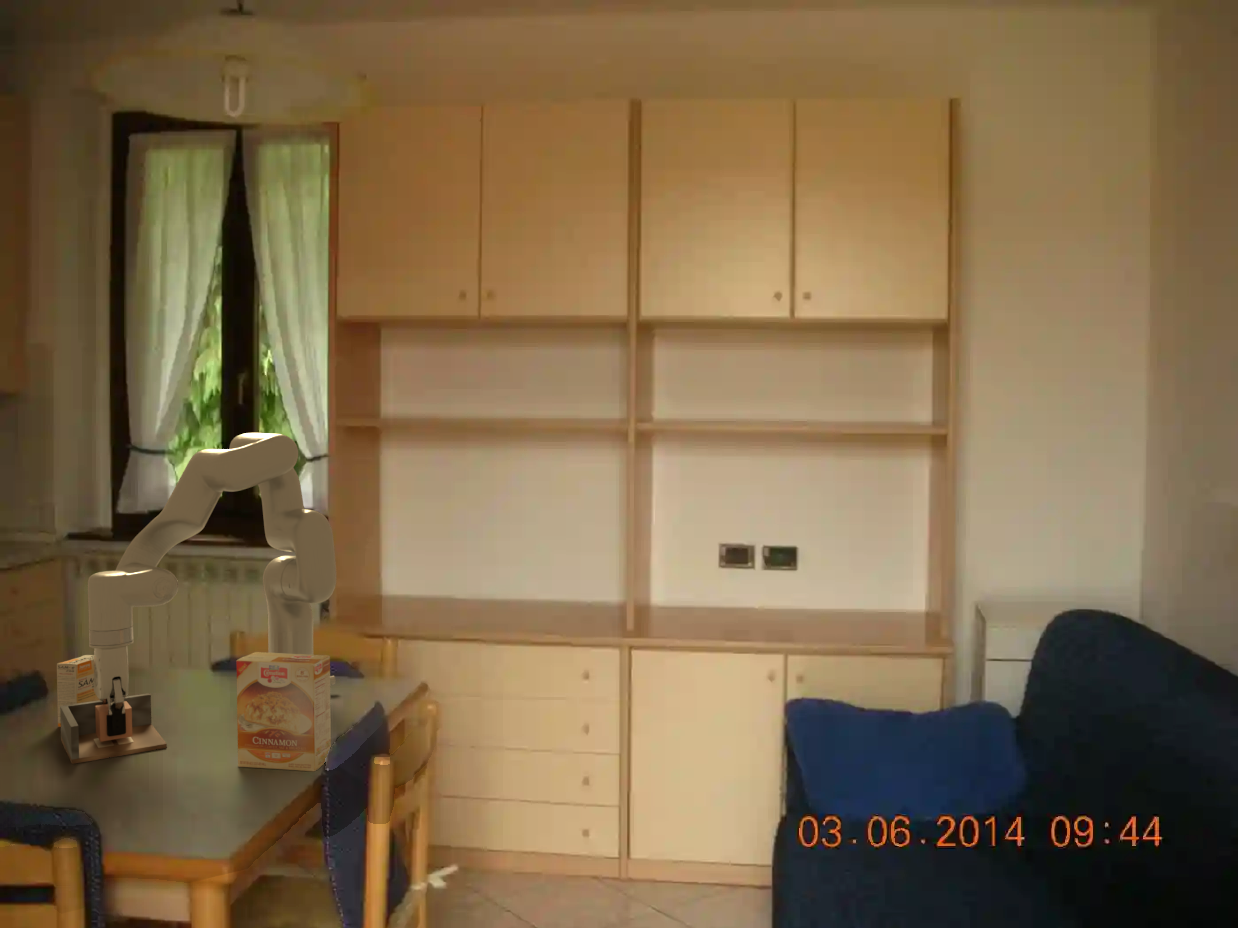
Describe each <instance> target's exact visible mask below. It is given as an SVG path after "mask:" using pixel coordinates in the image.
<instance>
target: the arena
mask: <svg viewBox="0 0 1238 928" xmlns="http://www.w3.org/2000/svg"><path fill="white" fill-rule="evenodd" d="M151 694H152V693H142V694H135V695H128V696H127V697H126V698H124V702H125V701H127V702H128V704H129V705H130V706H131V708H132V737H126V738H120V739H114V740H108V741H102V742H100V740H99V738H98V737H97V735H96V716H95V706H97V705H102V701H101V700H98V701H91V702H84V703H77V704H70V705H63V706H60V720H61V727H60V741H61V744H62V745H63V748H64V751H65V752H66V754H67V757H68V758H69V760H70V763H71V764H72V765H75V764H79V763H85V762H91V761H97V760H104V759H109V757H110V758H115V757H116V758H117V757H121V756H127V755H128V756H129V755H131V754H132V755H133V754H139V753H143V752H144V753H145V752H151V751H157V750H162V749H167V748H168V745H167V742H166V741H165V740H164V738H163V737H162V735H160V733H159V732H158V731H157V729H156V728H155V727H154V725H153V724H152V695H151ZM156 749H157V750H156Z"/></svg>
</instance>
